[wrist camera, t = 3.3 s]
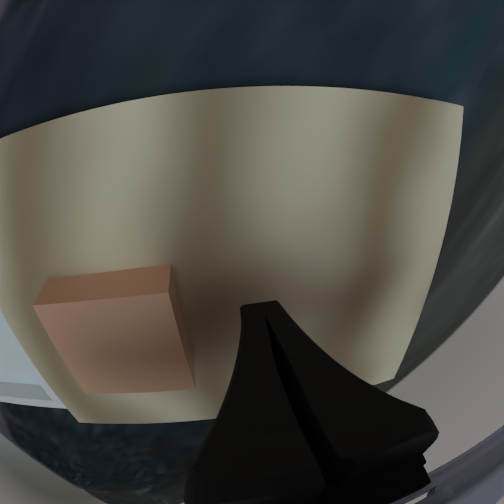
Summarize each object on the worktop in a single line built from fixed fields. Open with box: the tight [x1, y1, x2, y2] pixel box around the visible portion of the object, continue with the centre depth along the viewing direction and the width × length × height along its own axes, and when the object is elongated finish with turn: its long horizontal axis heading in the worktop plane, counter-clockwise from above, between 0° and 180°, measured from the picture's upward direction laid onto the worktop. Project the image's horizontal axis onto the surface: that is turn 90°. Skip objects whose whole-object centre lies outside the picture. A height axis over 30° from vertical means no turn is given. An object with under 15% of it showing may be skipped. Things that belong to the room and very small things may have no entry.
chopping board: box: [0, 86, 463, 424], centre depth 13 cm, size 20×16×2 cm
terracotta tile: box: [32, 264, 196, 394], centre depth 11 cm, size 5×5×2 cm
